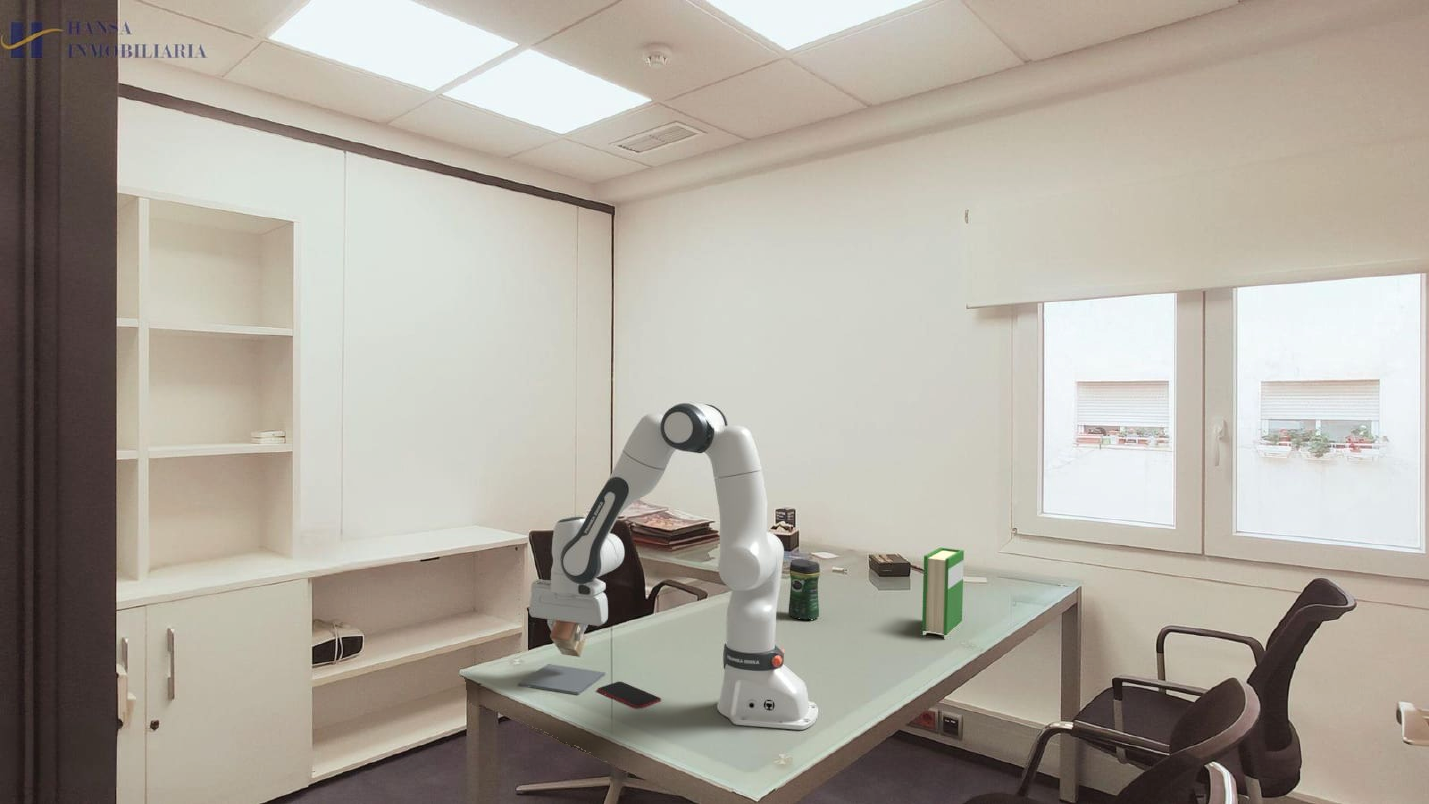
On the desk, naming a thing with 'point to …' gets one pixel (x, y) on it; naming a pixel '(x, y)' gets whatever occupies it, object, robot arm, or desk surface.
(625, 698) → the smartphone
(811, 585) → the coffee jar
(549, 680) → the rubber mat
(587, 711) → the desk surface
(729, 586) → the robot arm
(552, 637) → the beech block
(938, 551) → the hardback book
